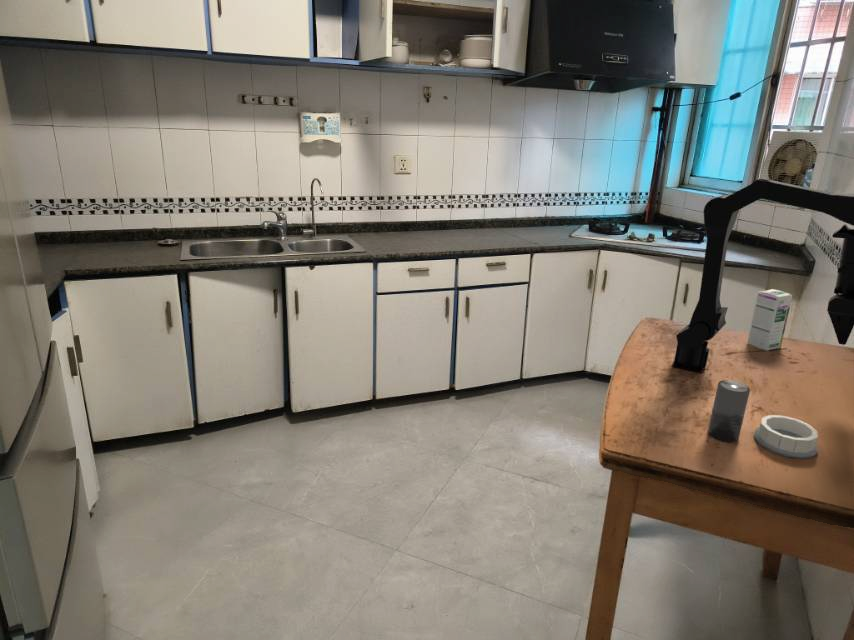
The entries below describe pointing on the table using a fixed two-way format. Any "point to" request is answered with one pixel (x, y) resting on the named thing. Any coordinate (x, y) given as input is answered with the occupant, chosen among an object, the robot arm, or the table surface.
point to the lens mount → (787, 436)
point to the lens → (728, 411)
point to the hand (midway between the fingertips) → (844, 337)
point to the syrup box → (769, 319)
